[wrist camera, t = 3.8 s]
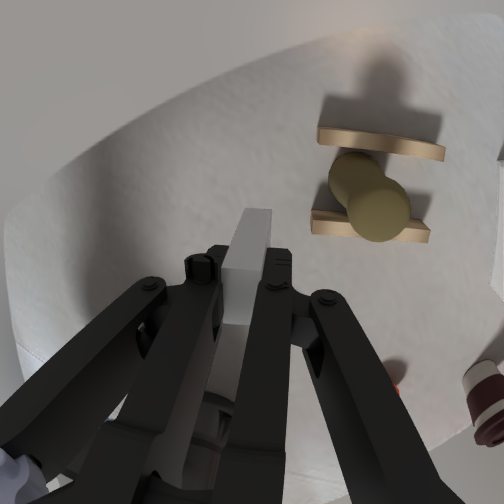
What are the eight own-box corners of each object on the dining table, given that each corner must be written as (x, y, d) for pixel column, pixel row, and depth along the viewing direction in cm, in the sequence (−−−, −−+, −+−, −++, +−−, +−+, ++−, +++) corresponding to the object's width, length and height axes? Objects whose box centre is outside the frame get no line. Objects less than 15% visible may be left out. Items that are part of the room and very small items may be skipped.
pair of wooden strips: (310, 222, 34) (311, 234, 31) (317, 126, 29) (320, 128, 26) (418, 231, 33) (427, 243, 30) (433, 142, 28) (445, 147, 25)
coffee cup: (463, 360, 41) (492, 430, 28) (505, 347, 39) (538, 409, 26) (449, 395, 46) (470, 459, 32) (490, 382, 44) (514, 441, 30)
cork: (390, 194, 31) (428, 236, 22) (340, 215, 33) (360, 265, 23) (371, 143, 29) (408, 164, 19) (318, 164, 31) (332, 195, 21)
